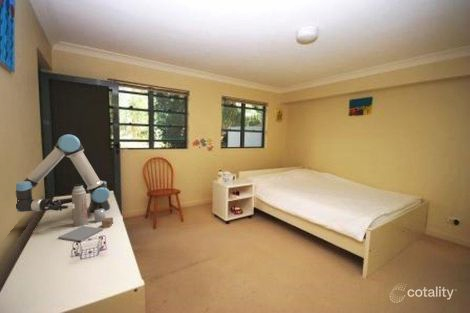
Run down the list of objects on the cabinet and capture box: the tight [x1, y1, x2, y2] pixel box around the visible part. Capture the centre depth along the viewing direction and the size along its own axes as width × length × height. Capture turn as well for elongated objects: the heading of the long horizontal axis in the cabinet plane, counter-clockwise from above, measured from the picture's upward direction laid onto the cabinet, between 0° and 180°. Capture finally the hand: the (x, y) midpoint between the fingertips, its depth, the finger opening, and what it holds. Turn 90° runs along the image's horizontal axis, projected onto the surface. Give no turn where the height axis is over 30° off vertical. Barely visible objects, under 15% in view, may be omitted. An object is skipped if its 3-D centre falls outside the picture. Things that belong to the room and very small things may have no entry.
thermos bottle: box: [71, 183, 89, 227], centre depth 147 cm, size 8×8×28 cm
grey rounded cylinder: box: [94, 209, 106, 223], centre depth 154 cm, size 6×6×8 cm
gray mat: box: [58, 225, 104, 242], centre depth 134 cm, size 16×16×1 cm
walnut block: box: [101, 217, 114, 229], centre depth 146 cm, size 5×5×5 cm
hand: (79, 203), depth 147 cm, fingers open, 13 cm apart
